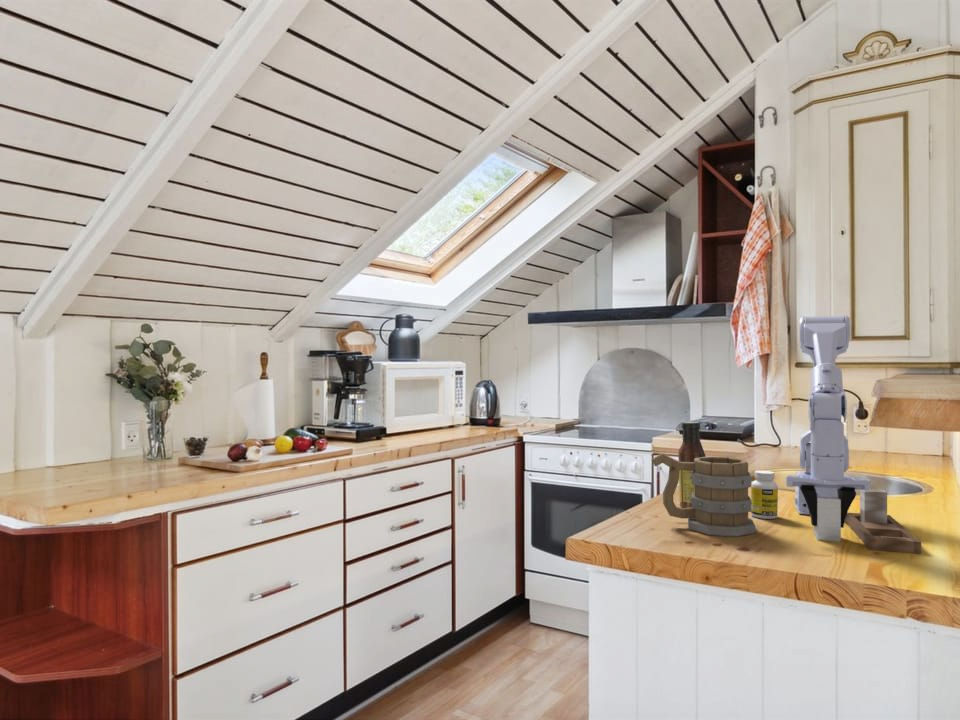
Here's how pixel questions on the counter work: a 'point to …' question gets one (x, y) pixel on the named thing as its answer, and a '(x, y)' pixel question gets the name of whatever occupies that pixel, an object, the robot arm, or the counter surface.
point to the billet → (828, 518)
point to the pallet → (880, 525)
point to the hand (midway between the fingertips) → (827, 525)
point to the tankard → (712, 494)
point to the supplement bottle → (764, 495)
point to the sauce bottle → (688, 460)
